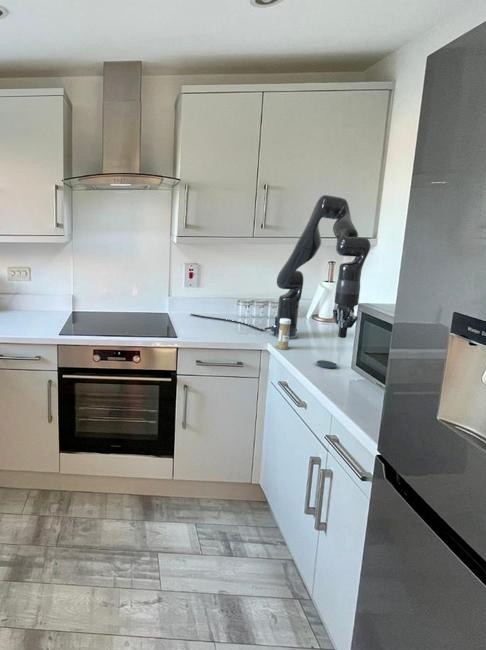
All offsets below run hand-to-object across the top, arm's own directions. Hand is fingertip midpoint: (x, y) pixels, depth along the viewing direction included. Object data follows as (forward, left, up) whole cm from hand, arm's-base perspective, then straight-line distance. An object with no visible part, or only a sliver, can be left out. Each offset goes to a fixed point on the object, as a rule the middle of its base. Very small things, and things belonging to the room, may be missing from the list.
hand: (342, 337), depth 156 cm
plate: (-7, +5, -14) cm, 17 cm away
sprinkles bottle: (-30, +13, -15) cm, 36 cm away
